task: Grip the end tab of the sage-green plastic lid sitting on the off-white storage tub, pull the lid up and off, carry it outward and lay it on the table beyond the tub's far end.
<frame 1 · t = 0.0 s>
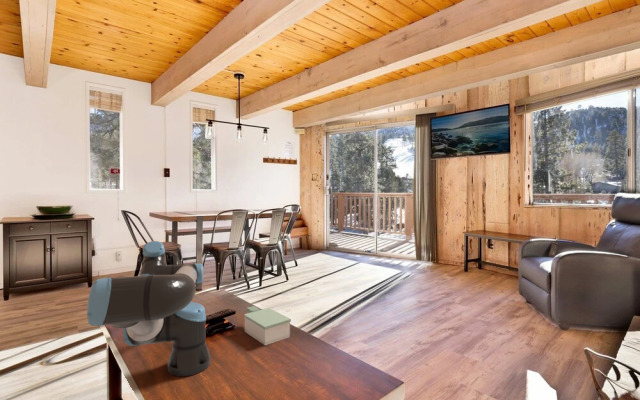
hand: (162, 303, 150), 15 cm above the table, tool tilted 35°, fingers open, 13 cm apart
lid: (266, 319, 154), point 7 cm above the table, touching tub
tub: (266, 334, 154), on the table
puzzle cube: (165, 320, 170), on the table
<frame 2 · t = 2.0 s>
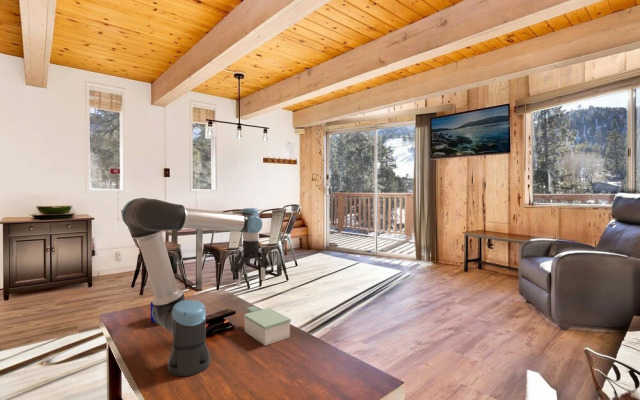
hand: (251, 283, 163), 21 cm above the table, tool pointing down, fingers open, 13 cm apart
nothing on the table moved.
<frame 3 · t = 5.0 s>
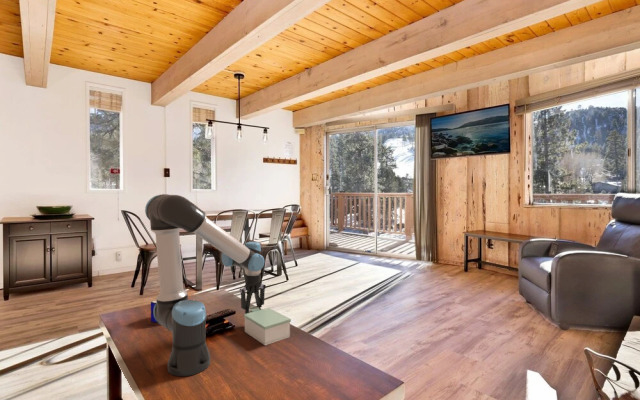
hand: (252, 320, 164), 2 cm above the table, tool pointing down, fingers closed on lid, 4 cm apart
lid: (266, 319, 154), point 7 cm above the table, touching gripper, tub
everything else where it was.
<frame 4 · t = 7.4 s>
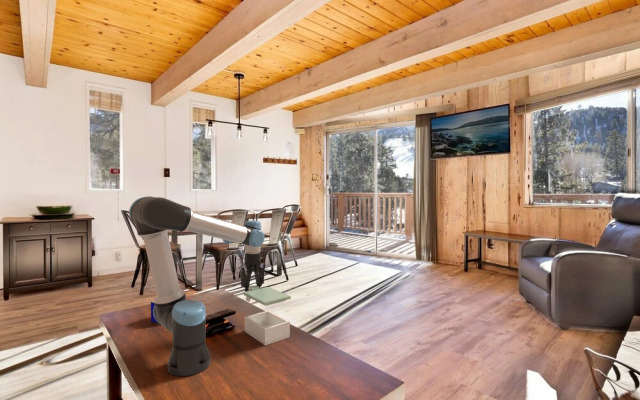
hand: (252, 299, 163), 13 cm above the table, tool pointing down, fingers closed on lid, 4 cm apart
lid: (266, 296, 153), point 18 cm above the table, touching gripper
everything else where it was.
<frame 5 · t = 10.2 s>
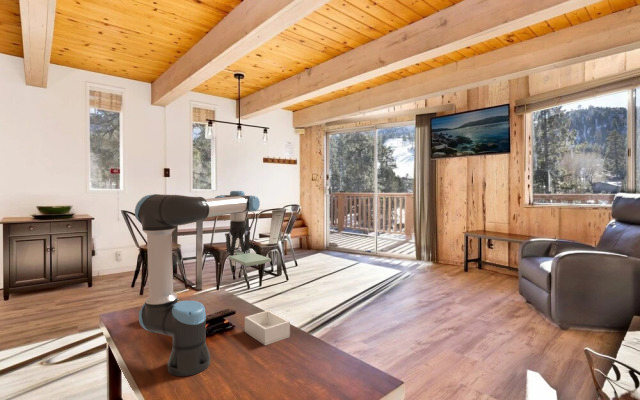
hand: (237, 264, 175), 27 cm above the table, tool pointing down, fingers closed on lid, 4 cm apart
lid: (249, 259, 165), point 32 cm above the table, touching gripper
everything else where it was.
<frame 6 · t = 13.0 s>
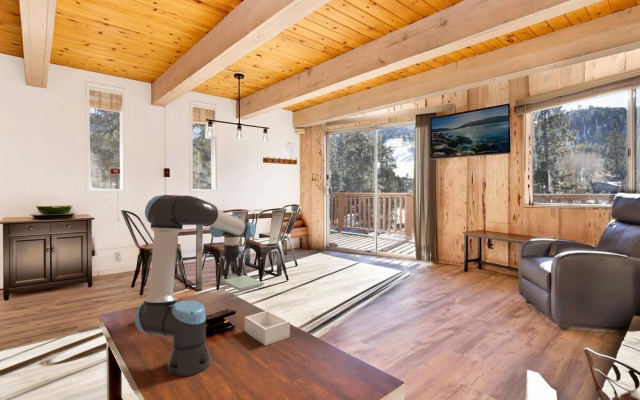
hand: (231, 287, 181), 14 cm above the table, tool pointing down, fingers closed on lid, 4 cm apart
lid: (242, 283, 171), point 18 cm above the table, touching gripper
everything else where it was.
when the fingers open (3 cm above the table, at t = 15.4 s): lid drops 6 cm, point 1 cm above the table.
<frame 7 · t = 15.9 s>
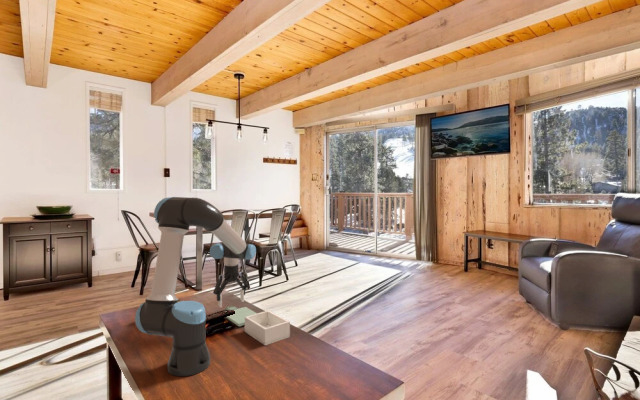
hand: (231, 303, 181), 4 cm above the table, tool pointing down, fingers open, 12 cm apart
lid: (242, 317, 172), point 1 cm above the table
everything else where it was.
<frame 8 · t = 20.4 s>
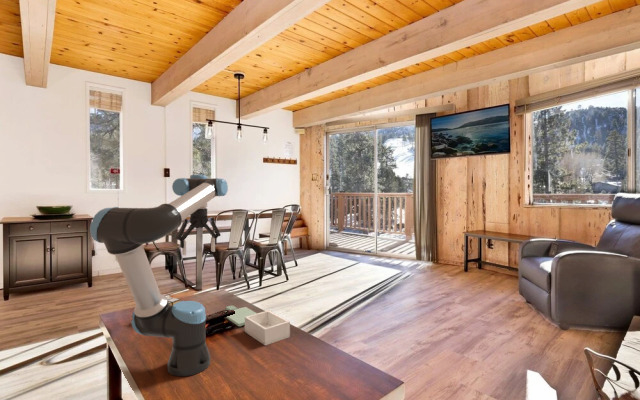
hand: (199, 253, 156), 37 cm above the table, tool pointing down, fingers open, 13 cm apart
nothing on the table moved.
at the end: lid inside the target area (8.9 cm from its centre), point 1.0 cm above the table; the gripper is holding nothing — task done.
